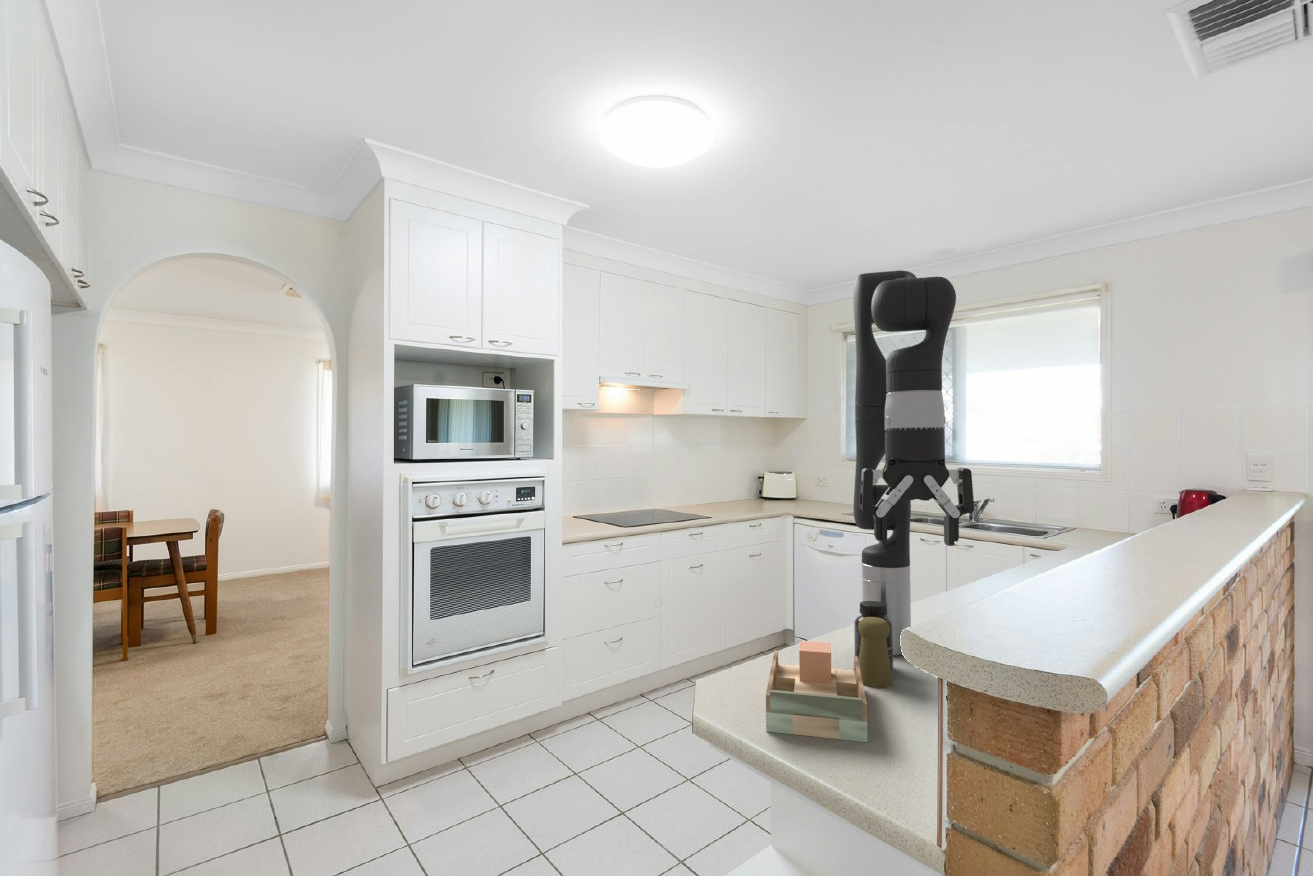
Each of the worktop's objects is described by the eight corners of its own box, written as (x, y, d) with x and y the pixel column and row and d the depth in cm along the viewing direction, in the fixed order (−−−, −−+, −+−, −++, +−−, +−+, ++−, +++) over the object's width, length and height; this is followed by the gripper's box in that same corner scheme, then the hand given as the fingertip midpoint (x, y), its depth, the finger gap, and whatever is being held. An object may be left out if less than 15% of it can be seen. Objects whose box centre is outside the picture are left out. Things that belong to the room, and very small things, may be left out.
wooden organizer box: (774, 680, 109) (774, 647, 109) (857, 687, 106) (857, 653, 106) (766, 731, 90) (765, 691, 90) (867, 742, 86) (866, 700, 86)
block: (800, 670, 106) (800, 641, 106) (830, 672, 104) (830, 643, 104) (799, 681, 101) (799, 650, 101) (831, 684, 99) (831, 653, 99)
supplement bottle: (899, 675, 111) (898, 608, 111) (861, 675, 111) (860, 608, 111) (886, 661, 118) (885, 598, 118) (850, 661, 118) (849, 599, 118)
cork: (887, 675, 111) (886, 614, 111) (897, 688, 105) (896, 623, 105) (853, 674, 111) (852, 613, 112) (860, 687, 105) (859, 623, 106)
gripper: (961, 425, 86) (962, 540, 86) (855, 426, 89) (856, 539, 89) (980, 424, 79) (981, 550, 79) (864, 426, 81) (866, 549, 81)
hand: (915, 544), depth 84 cm, fingers open, 8 cm apart
